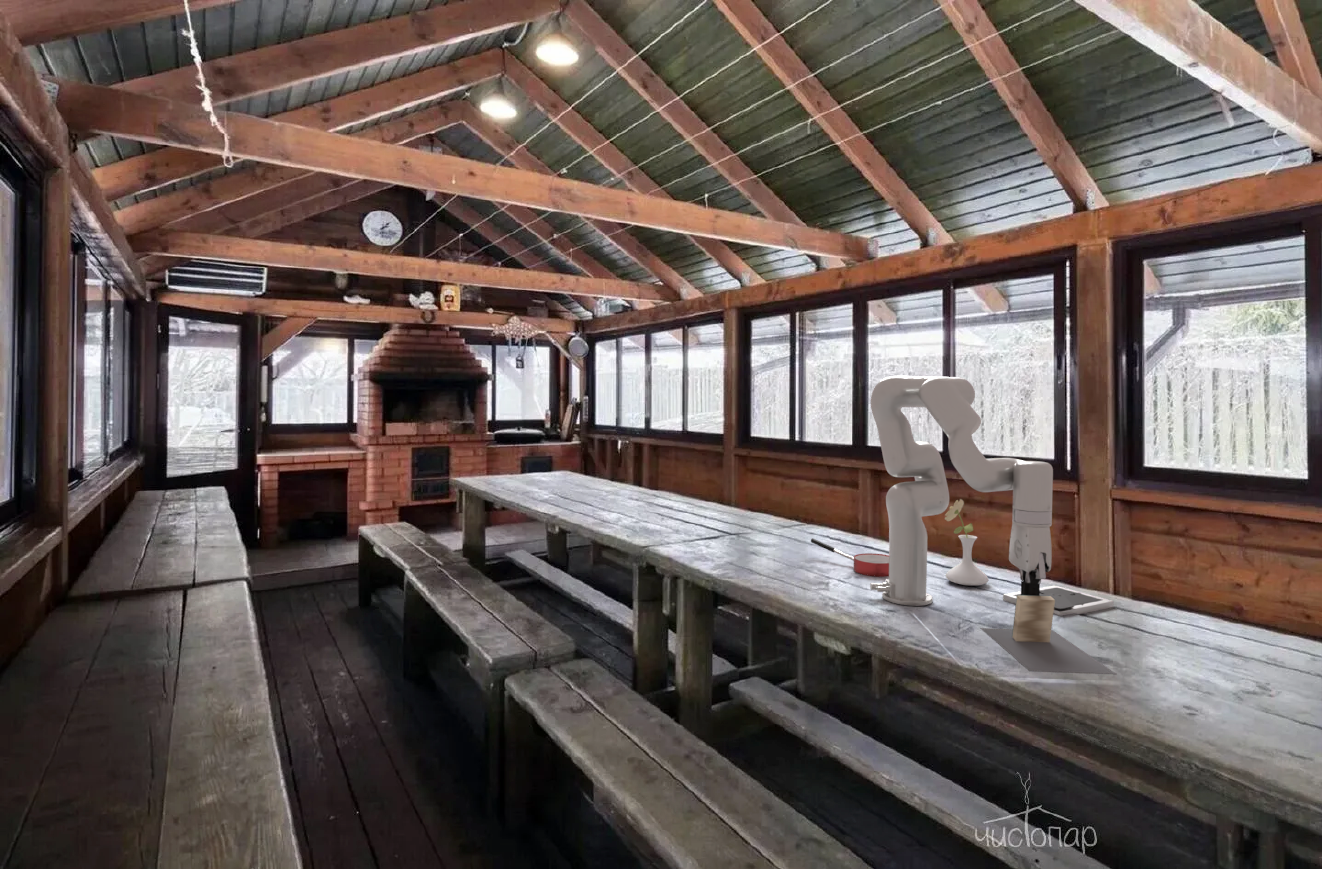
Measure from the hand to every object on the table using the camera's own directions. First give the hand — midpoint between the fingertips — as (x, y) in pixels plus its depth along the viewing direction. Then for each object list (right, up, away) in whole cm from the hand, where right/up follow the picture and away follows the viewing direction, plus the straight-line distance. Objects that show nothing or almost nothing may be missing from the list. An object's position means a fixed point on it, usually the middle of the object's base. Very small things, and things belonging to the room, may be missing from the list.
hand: (1030, 599), depth 143 cm
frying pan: (-21, -6, +66) cm, 70 cm away
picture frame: (+23, -9, +27) cm, 37 cm away
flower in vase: (+7, -7, +46) cm, 47 cm away
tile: (0, -9, -1) cm, 9 cm away
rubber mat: (-1, -10, -6) cm, 11 cm away
